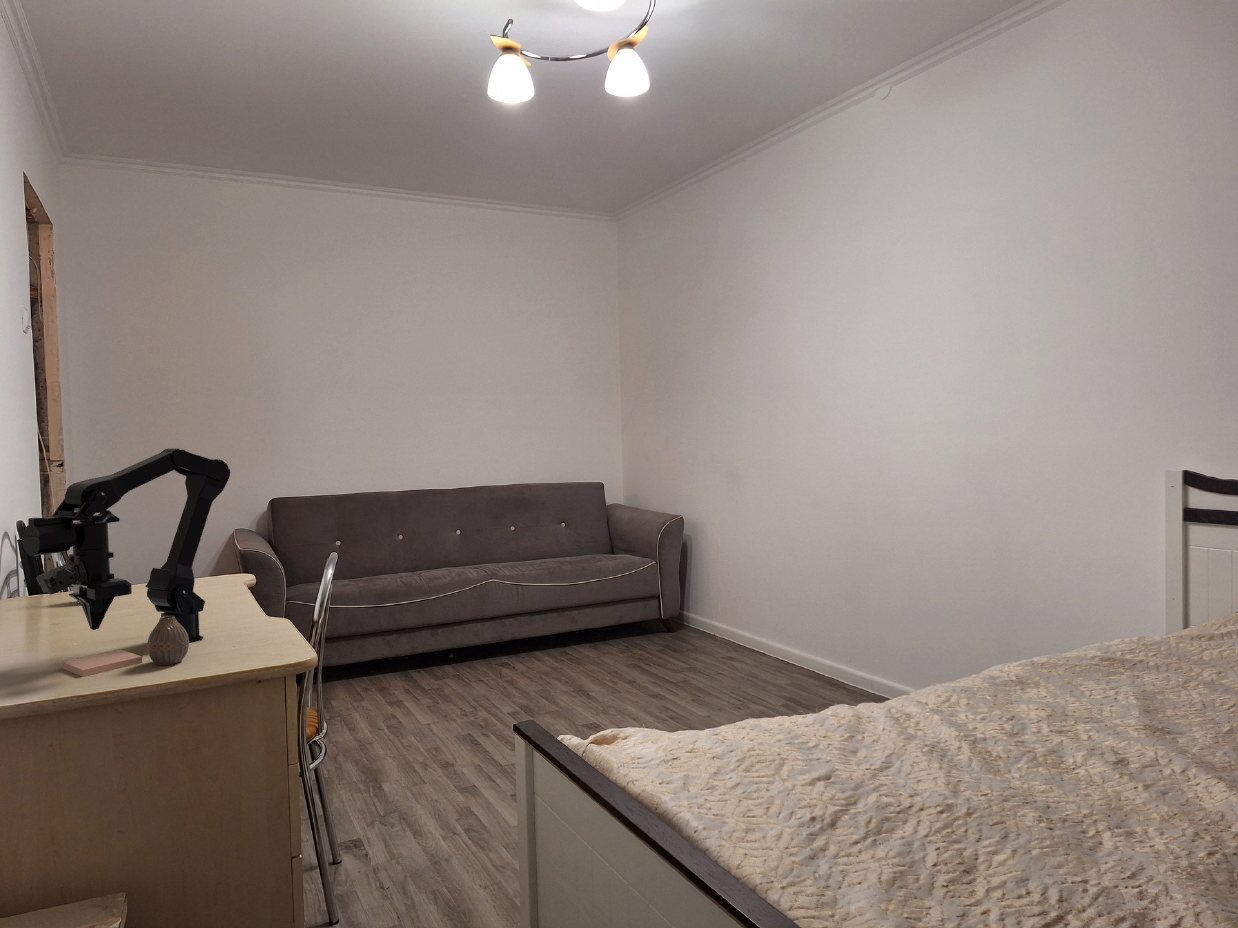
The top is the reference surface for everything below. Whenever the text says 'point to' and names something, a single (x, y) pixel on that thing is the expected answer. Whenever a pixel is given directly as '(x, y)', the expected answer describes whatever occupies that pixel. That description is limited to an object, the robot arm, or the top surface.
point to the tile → (101, 662)
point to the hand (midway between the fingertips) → (94, 629)
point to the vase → (168, 642)
